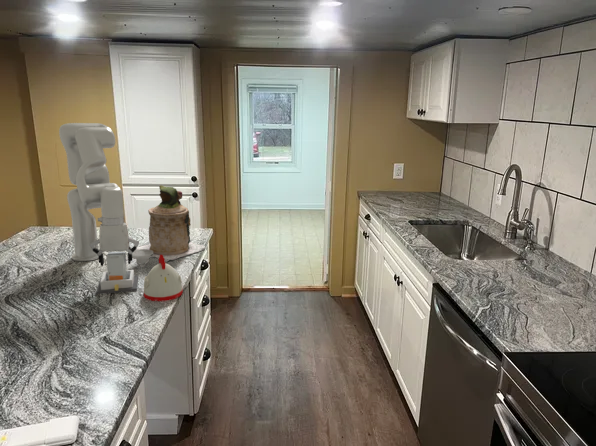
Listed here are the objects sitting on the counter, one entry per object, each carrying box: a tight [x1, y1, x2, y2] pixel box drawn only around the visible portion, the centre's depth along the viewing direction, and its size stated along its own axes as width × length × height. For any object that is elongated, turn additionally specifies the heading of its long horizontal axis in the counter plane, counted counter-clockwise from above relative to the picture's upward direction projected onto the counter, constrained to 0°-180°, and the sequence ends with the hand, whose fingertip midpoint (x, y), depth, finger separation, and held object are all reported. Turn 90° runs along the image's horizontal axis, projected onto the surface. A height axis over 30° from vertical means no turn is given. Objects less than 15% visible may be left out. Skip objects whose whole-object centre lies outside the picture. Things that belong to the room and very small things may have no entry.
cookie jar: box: [136, 184, 206, 263], centre depth 208 cm, size 25×25×32 cm
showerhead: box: [132, 249, 153, 268], centre depth 189 cm, size 9×7×10 cm
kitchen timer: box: [143, 255, 184, 302], centre depth 162 cm, size 14×14×15 cm
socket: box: [95, 269, 139, 295], centre depth 169 cm, size 15×14×4 cm
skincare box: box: [106, 251, 128, 281], centre depth 168 cm, size 6×4×12 cm
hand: (116, 263), depth 168 cm, fingers open, 9 cm apart
